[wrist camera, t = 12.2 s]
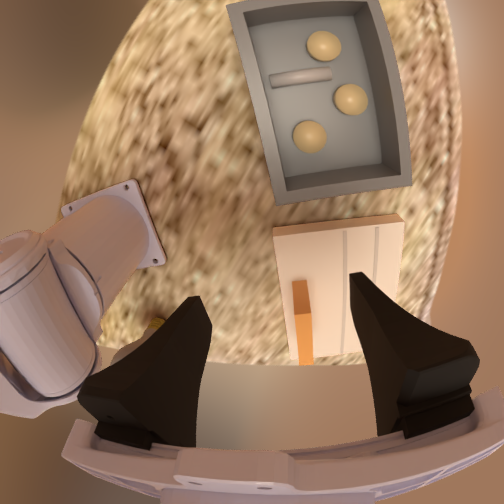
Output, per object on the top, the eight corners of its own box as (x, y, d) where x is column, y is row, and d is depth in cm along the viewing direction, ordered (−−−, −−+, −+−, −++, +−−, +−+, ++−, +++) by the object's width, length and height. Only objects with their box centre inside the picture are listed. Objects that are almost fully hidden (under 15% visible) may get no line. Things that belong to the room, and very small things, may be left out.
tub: (275, 187, 20) (276, 206, 17) (235, 23, 14) (225, 5, 11) (389, 170, 19) (412, 185, 15) (358, 9, 13) (375, -8, 9)
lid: (290, 348, 29) (291, 391, 24) (272, 227, 22) (271, 266, 17) (382, 336, 27) (395, 375, 22) (397, 213, 20) (427, 246, 15)
